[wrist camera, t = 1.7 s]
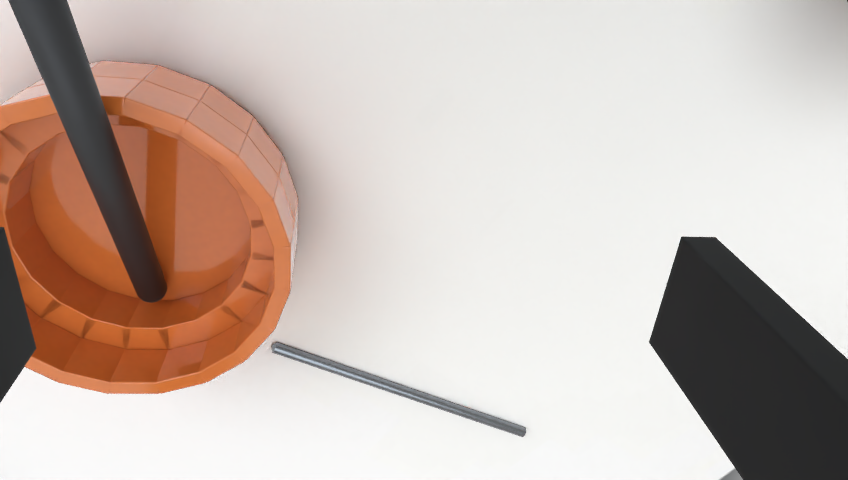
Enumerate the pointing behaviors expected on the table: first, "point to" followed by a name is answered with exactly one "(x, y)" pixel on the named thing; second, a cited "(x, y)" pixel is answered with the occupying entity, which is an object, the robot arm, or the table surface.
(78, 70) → the stick
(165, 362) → the bowl
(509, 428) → the rod
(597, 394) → the table surface
